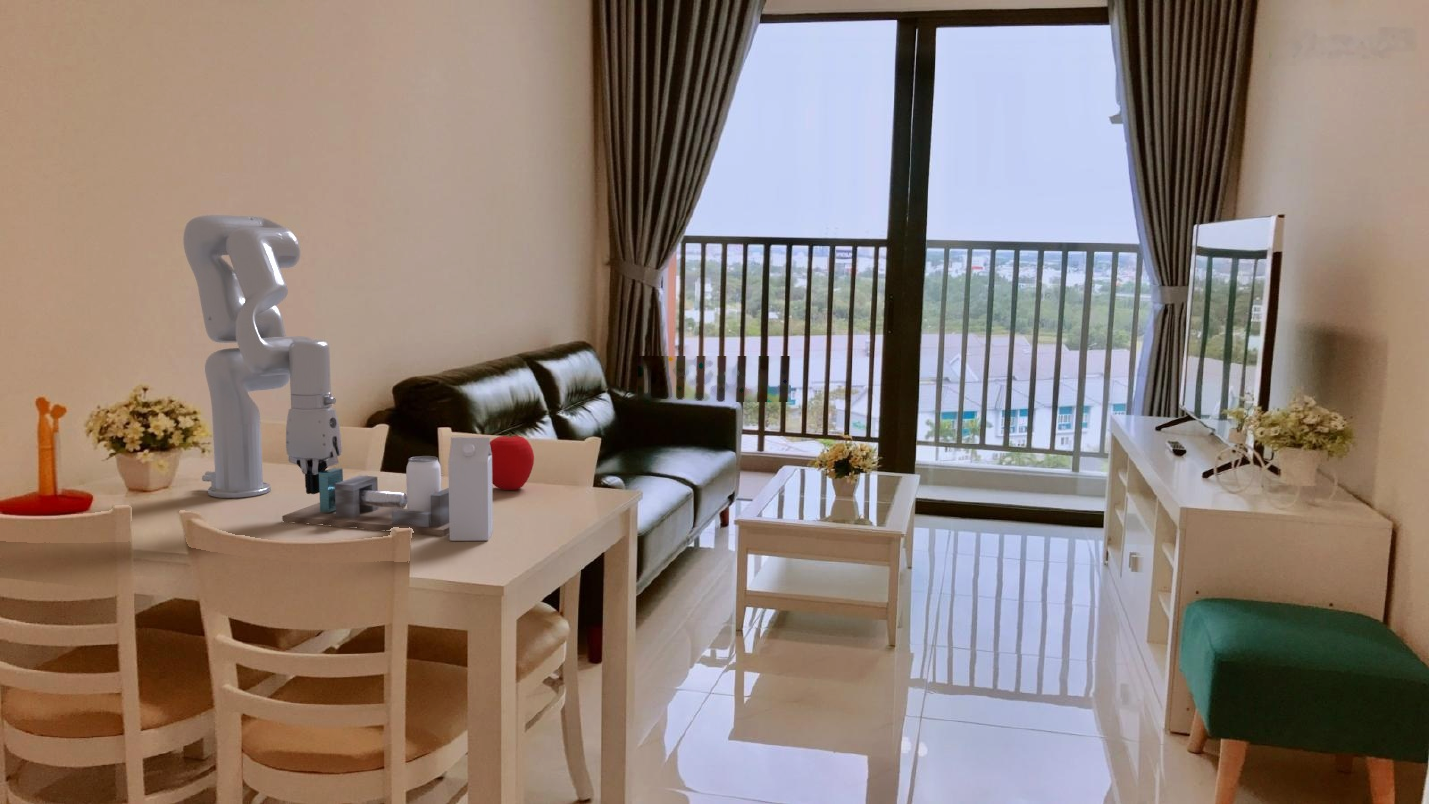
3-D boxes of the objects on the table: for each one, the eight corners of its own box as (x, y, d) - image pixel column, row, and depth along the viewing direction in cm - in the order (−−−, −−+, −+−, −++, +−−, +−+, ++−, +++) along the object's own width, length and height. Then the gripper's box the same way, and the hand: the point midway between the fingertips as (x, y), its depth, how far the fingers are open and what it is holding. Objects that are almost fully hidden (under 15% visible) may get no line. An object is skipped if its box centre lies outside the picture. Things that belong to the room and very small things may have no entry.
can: (432, 523, 210) (431, 462, 208) (401, 521, 211) (400, 460, 210) (447, 516, 216) (446, 456, 215) (416, 514, 217) (415, 454, 216)
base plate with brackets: (282, 521, 214) (280, 482, 213) (322, 507, 227) (320, 470, 226) (443, 536, 206) (443, 495, 205) (475, 520, 218) (475, 481, 217)
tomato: (498, 496, 239) (498, 439, 238) (476, 488, 248) (475, 432, 246) (543, 490, 246) (543, 434, 245) (520, 482, 255) (519, 428, 253)
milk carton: (455, 531, 209) (453, 434, 207) (492, 531, 210) (491, 434, 207) (449, 541, 202) (447, 440, 200) (488, 541, 203) (487, 440, 200)
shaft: (320, 511, 217) (318, 472, 216) (334, 506, 221) (333, 467, 220) (396, 518, 212) (395, 478, 211) (410, 512, 217) (409, 473, 216)
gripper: (355, 401, 219) (358, 491, 221) (290, 398, 222) (293, 486, 225) (333, 406, 211) (336, 499, 214) (266, 402, 215) (270, 494, 218)
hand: (314, 492), depth 219 cm, fingers closed
